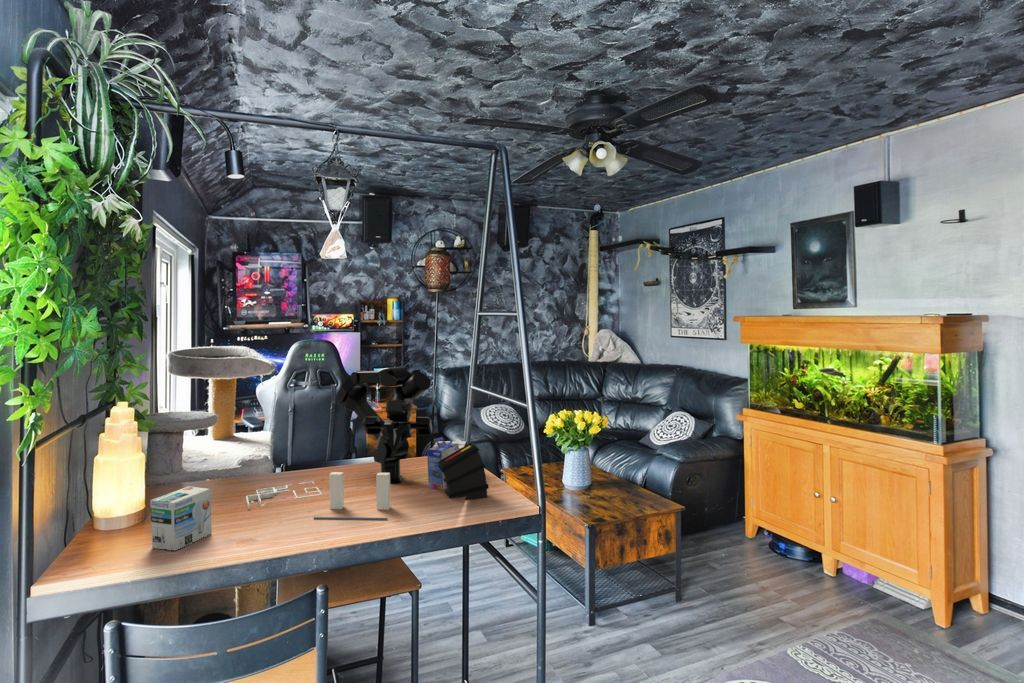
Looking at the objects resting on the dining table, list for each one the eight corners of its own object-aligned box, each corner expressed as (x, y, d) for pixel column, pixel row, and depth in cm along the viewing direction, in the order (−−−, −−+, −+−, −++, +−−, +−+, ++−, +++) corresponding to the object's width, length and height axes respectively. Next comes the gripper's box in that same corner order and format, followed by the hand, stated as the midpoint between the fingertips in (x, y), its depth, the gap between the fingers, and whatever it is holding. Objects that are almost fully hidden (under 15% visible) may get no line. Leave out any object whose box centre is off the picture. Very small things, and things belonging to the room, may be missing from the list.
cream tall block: (332, 506, 148) (332, 472, 148) (344, 506, 148) (343, 472, 148) (329, 509, 146) (329, 474, 146) (341, 509, 146) (340, 474, 146)
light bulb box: (175, 552, 123) (173, 502, 123) (150, 548, 125) (148, 500, 124) (213, 533, 133) (212, 487, 133) (190, 530, 135) (188, 485, 135)
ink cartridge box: (444, 481, 173) (444, 434, 173) (460, 483, 171) (460, 435, 170) (426, 490, 165) (426, 440, 164) (443, 493, 162) (442, 442, 161)
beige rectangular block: (378, 506, 148) (378, 472, 147) (390, 507, 148) (390, 472, 147) (376, 509, 146) (376, 474, 145) (388, 509, 146) (388, 474, 145)
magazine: (498, 490, 159) (476, 444, 156) (457, 516, 155) (433, 469, 152) (494, 486, 163) (472, 441, 160) (453, 511, 159) (430, 465, 156)
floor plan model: (251, 524, 141) (251, 516, 141) (243, 495, 162) (243, 488, 162) (330, 511, 150) (330, 503, 150) (312, 485, 172) (312, 478, 171)
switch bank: (331, 506, 151) (331, 500, 151) (398, 507, 151) (398, 501, 151) (313, 523, 139) (313, 517, 139) (387, 524, 139) (387, 518, 139)
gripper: (364, 388, 161) (352, 435, 151) (430, 388, 160) (423, 436, 150) (372, 410, 169) (361, 457, 159) (435, 411, 169) (428, 458, 158)
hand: (393, 452), depth 156 cm, fingers closed
